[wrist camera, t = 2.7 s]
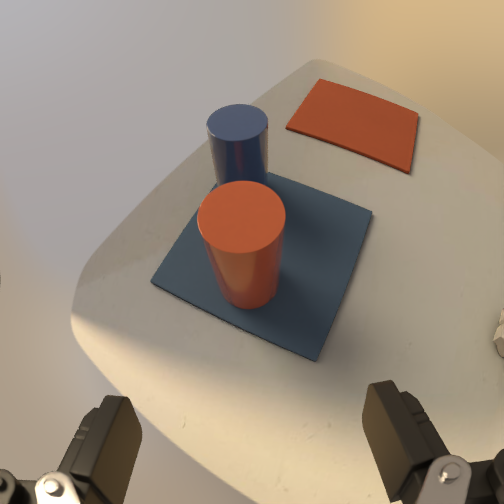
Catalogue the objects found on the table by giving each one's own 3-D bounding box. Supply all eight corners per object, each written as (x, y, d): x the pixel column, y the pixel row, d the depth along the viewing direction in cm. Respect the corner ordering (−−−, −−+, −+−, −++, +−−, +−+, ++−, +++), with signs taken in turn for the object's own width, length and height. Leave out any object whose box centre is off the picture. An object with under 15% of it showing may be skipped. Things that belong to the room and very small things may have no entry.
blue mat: (151, 282, 28) (149, 281, 27) (233, 162, 34) (232, 160, 34) (315, 361, 24) (316, 361, 24) (371, 213, 31) (372, 211, 30)
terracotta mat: (285, 128, 37) (285, 126, 36) (319, 80, 42) (319, 78, 42) (408, 174, 33) (409, 172, 33) (417, 115, 39) (418, 113, 38)
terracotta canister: (207, 293, 27) (180, 232, 18) (235, 245, 29) (223, 170, 20) (262, 319, 26) (262, 268, 17) (288, 267, 28) (299, 197, 19)
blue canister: (209, 199, 31) (194, 131, 24) (233, 166, 33) (225, 99, 26) (254, 216, 30) (250, 147, 22) (275, 180, 32) (277, 112, 24)
